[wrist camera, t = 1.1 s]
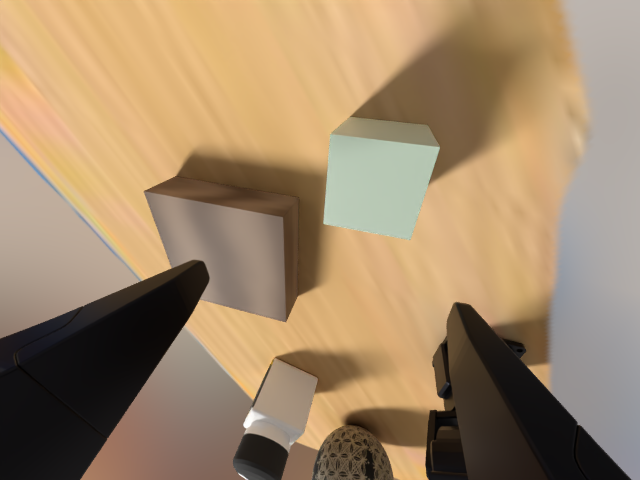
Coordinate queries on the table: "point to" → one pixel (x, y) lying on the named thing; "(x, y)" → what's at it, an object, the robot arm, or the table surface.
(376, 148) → the sage pill box
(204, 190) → the walnut block
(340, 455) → the decorative egg
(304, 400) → the medicine bottle
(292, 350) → the table surface
